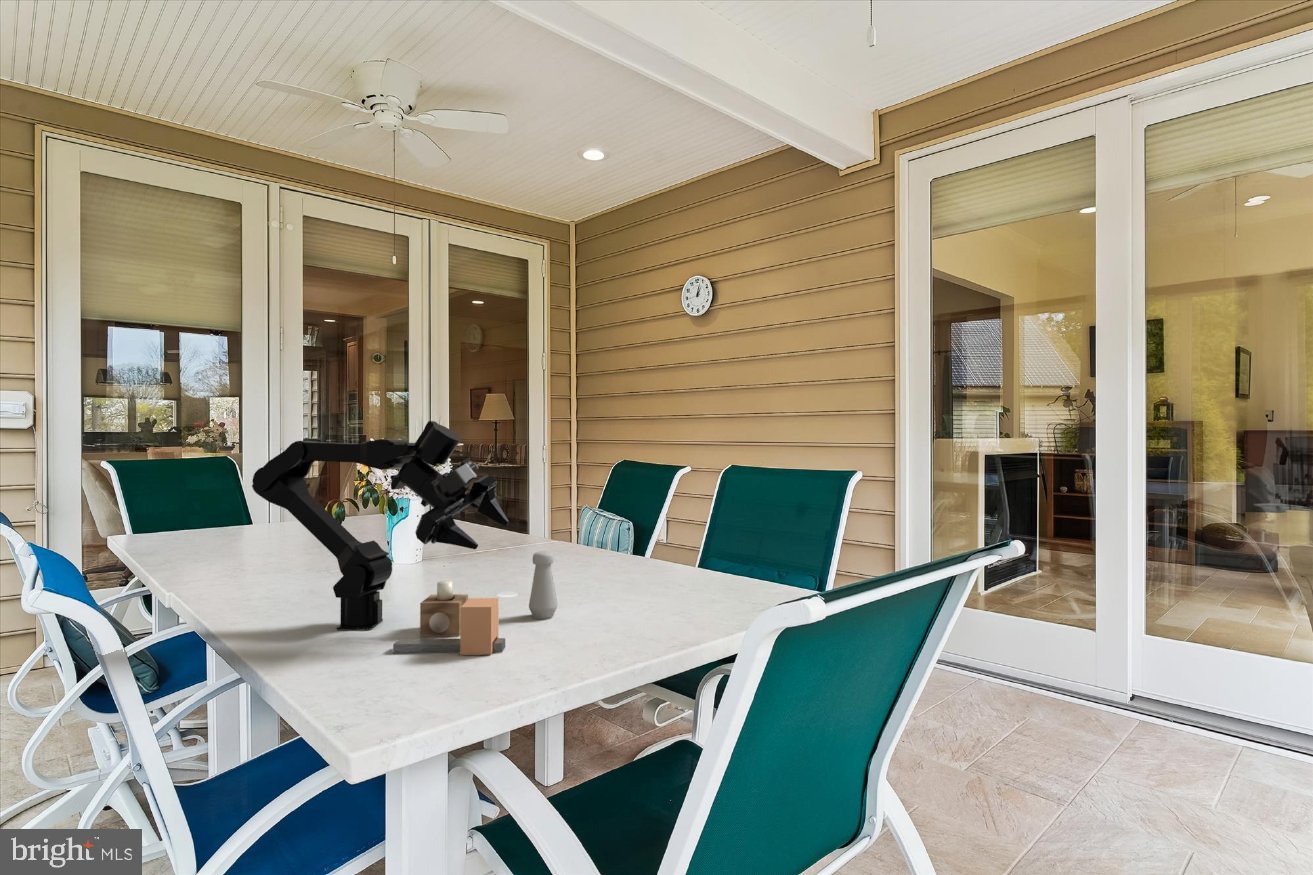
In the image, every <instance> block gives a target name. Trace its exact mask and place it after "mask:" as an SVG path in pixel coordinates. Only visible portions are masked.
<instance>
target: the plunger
mask: <svg viewBox="0 0 1313 875" xmlns="http://www.w3.org/2000/svg"><path fill="white" fill-rule="evenodd" d="M453 594H454V582H453V581H452V580H443V581H442V580H441V581H438V582H436V595H437V599H439V600H447V599H452V598H453Z"/></svg>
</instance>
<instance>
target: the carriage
mask: <svg viewBox="0 0 1313 875" xmlns="http://www.w3.org/2000/svg"><path fill="white" fill-rule="evenodd" d="M499 600H500V599H499V597H468V600H467V601H466V602H465V603H464V604H463V605H462V606H461V622H460V636H459V637H460V638H459V639H460V655H461V656H463V655H465V656H467V655H468V656H469V655H471V656H472V655H473V656H474V655H492V654H493V652H492V643H493V641H494V640H495V638H499V635H500V634H499V625H500V624H499V620H500V618H499V617H500V616H499V614H500V613H499V612H500V611H499V606H500V605H499Z"/></svg>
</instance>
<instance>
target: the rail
mask: <svg viewBox="0 0 1313 875" xmlns="http://www.w3.org/2000/svg"><path fill="white" fill-rule="evenodd" d="M505 648H506V637H498V638H495V640H494V641H493V643H492V653H503V651H504V650H505ZM392 653H393V654H435V653H436V654H441V653H442V654H445V653H446V654H447V653H448V654H450V653H451V654H454V653H455V654H456V653H457V654H459V653H460V638H399V639H397V640H396V641H395V642H394V643H393V645H392Z"/></svg>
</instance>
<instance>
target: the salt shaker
mask: <svg viewBox="0 0 1313 875" xmlns="http://www.w3.org/2000/svg"><path fill="white" fill-rule="evenodd" d="M554 561H555V556H554V554H553V553H552V551H546V550H545V551H537V552H534V553H533V554H532V564H533V565H535V567H534V570H533V571H534V572H533V577H532V578H533V579H532V583H531V590H530V597H529V603H528V609H529V611H530V613H531V615H532V617H533V619H534V618H536V619H537V620H547V618H549V619H552V618H553V617H554V615H555V613H556V611H557V609H558V606H559V605H558V598H557V591H556V586H555V581H554V575H553V570H552V564H553V563H554Z"/></svg>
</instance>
